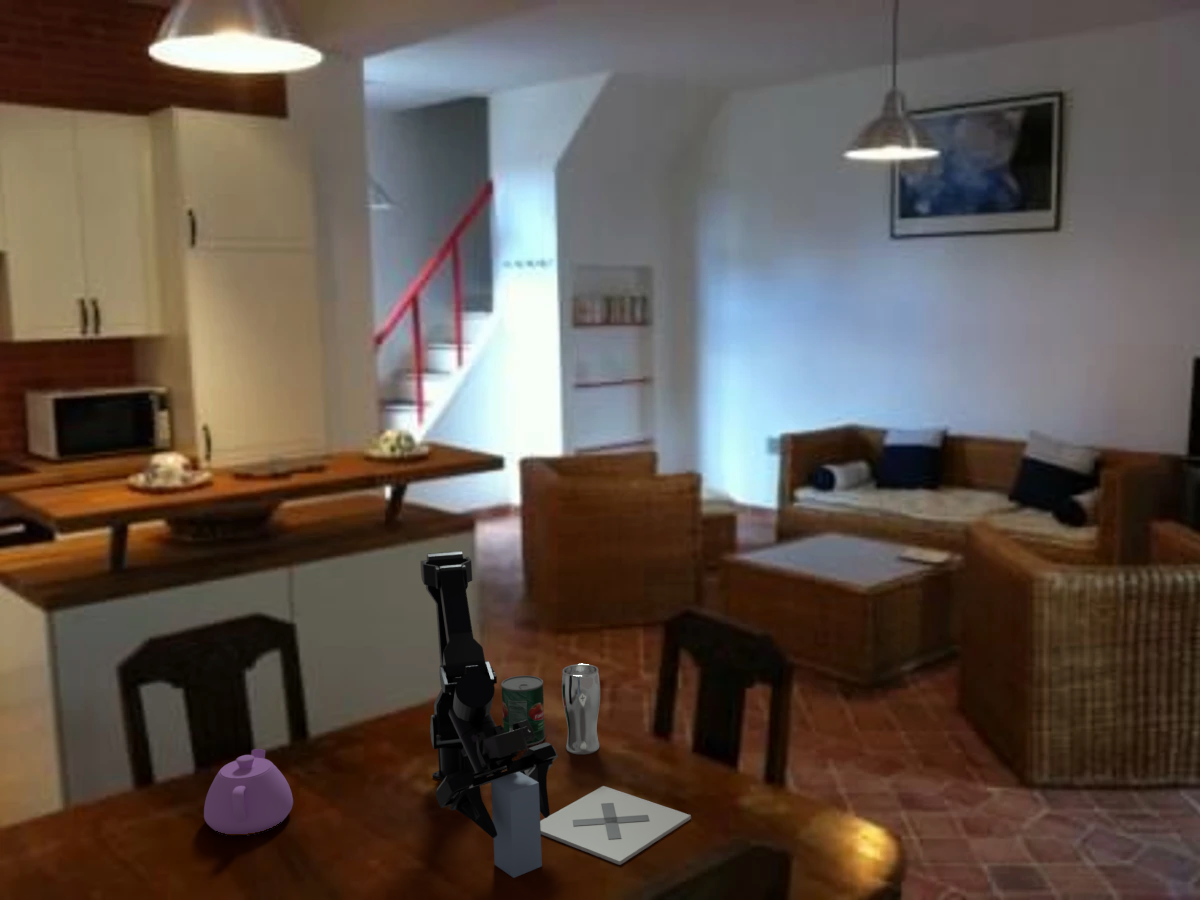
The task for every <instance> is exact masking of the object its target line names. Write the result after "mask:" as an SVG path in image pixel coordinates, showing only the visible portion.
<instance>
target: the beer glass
mask: <svg viewBox="0 0 1200 900" xmlns="http://www.w3.org/2000/svg"><path fill="white" fill-rule="evenodd" d="M561 677H562V679H561V681H562V682H561V695H562V705H563V710H564V715H565V719H566V724H567V738H566V739H567V740H566V746H565V748H566V750H567V752H568V753H570V754H573V755H574V754H575V755H589V754H590V755H591V754H594V753H596V752H597V751H598V750H599V749H600V742H599V738H598V731H597V730H598V729H597V727H598V726H597V725H598V719H599V718H598V717H599V712H600V711H599V710H600V704H601V703H600V702H601V683H600V675H599V668H598V666H596V665H592V664H588V663H587V664H586V663H578V664H577V663H576V664H571V665H567V666H565V667H564V668H563V669H562V676H561Z"/></svg>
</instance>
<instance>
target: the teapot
mask: <svg viewBox="0 0 1200 900" xmlns="http://www.w3.org/2000/svg"><path fill="white" fill-rule="evenodd" d="M293 805H294V798H293V794H292V789H291V788H290V784H289V783H288V781H287V779H286V777H285V776H284V775H283V773H282V772H281V771H280V770H279V768H278V767H277V766H276V765H275V764H274V763H273V762H272V761H271V760H270V759H267V758H266V750H265V749H260V748H255V749H251V753H250V754H244V755H241V756H238V757H237V758H235V760H233V761H231V762H229V763H227V764H225V765H224V766H223V767H221V768H220V770H219V771H218V772H217V773H216V775H215V777H214V779H213V781H212V783H211V785H210V786H209V789H208V792H207V793H206V797H205V801H204V808H203V818H204V821H205V822H206V824H207V825H208V826H209V827H210V828H211V829H212V830H214V831H215V832H216V831H218V832H221V833H225V834H248V833H255V832H260V831H264V830H266V829H269V828H272V827H273V826H276V825H277V824H279V823H280V822H281V823H282V822H283V821H284V820H285V819H287V817H288V815H289V814H290V812H291V811H292V808H293ZM281 823H280V824H281ZM280 824H279V825H280ZM277 826H278V825H277ZM277 826H276V827H277ZM272 829H273V828H272ZM218 832H217V833H218Z"/></svg>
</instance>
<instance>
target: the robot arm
mask: <svg viewBox="0 0 1200 900" xmlns="http://www.w3.org/2000/svg"><path fill="white" fill-rule="evenodd" d="M420 577H421V581H422V583H423V585H425V590H426V592H427V593H428V594H429V596H430V597H431V599H432V600H433V601H434V603H435V609H436V624H437V625H436V626H437V636H438V637H437V638H438V653H439V664H440V665H439V682H440V687H441V689H440V691H439V693H438V695H437V697H436V698H435V701H434V703H433V708H434V711H433V712H434V714H431V715H430V724H429V725H430V727H429V729H430V730H429V732H430V740H431V741H430V742H431V744H432V748H433V750H437V757H438V758H437V759H438V771H435V772H433V773H432V774H431V776H432V777H433V778H435V779H436V780H437V779H438V780H439V781H442V782H441V783H440V784H439V786H438V787H437V788H436V791H435V794H436V795H435V798H436V800H437V802H438V805H439V808H440V809H444V808H447V807H449V809H450V811H458V812H459V813H461V814H462V815H463V816H465V817H466V818H468V819H469V820H471V821H472V822H473V823H474V824H476V825H477V826H478V827H479V828H480V829H482V831H483V832H485V833H486V834H487V835H489V836H490V837H491V838H492V839H494V838H495V837H496V836H497V831H496V829H495V826H494V823H493V818H492V817H491V815H490V813H489V811H488V809H487V807H486V805H485V803H484V802H483V798H482V792H481V787H482V786H485V785H488V784H491V781H493V780H496V779H499V778H502V777H505V776H508V775H511V774H514V773H516V772H521V773H523V774H525V775H526V776H528V777H530V778H532V779H534V780H535V781H537V782H539V802H540V814H541V815H542V816H543V818H544V819H545V818H547V817H548V816H550V815H551V814H550V805H549V798H548V797H549V796H548V786H547V785H548V784H547V781H548V780H547V779H548V778H547V776H548V771H549V770H550V769H551V767H552V766H553V765H554V764H553V763H554V762H555V760H556V759H557V758H558V757H559V755H558V752H557V751H556V749H555V747H554V745H552V744H551V743H549V742H543V743H538V745H537V744H535V745H532V746H531V747H529V746H527V743H526V742H529V741H532V740H534V737H535V736H534V732H533V729H532V727H531V725H530V723H529V722H528V720H524V721H520V722H517V723H514V724H513V731H510V732H505V730H504V728H503V725H502V724H500V725H496V723H495V720H494V719H493V716H492V714H491V709H492V705H493V701H494V696H495V693H496V692H495V688H496V687H495V684H497V683H498V678H497V674H496V672H495V670H494V667H493V666H491V664H490V661H489V660H486V658H485V653H484V648H483V646H482V645H481V644H480V643H479V642H478V641H477V640H476V639H475V638H474V633H473V629H472V628H473V627H472V621H471V613H470V607H469V606H470V605H469V602H468V596H467V595H468V593H467V589H468V587H469V583H470V582H472V581H473V567H472V559H471V558H470V556H463V551H462V550H456V551H454V550H453V551H444V552H443V551H442V552H441V551H440V552H434V553H433V552H432V553H427V554H426V559H424V560H420ZM525 750H526V751H525ZM519 751H521V752H524V751H525V752H524V753H523V754H522V755H521V757H520V758H518V759H515V760H513V758H516V757H517V756H518V755H519Z"/></svg>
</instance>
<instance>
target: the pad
mask: <svg viewBox="0 0 1200 900" xmlns="http://www.w3.org/2000/svg"><path fill="white" fill-rule="evenodd" d="M691 819H692V816H691V814H689V813H688V814H687V813H685V812H683V811H680V810H677V809H673V808H671V807H667V806H664V805H661V804H659V803H655V802H652V801H649V800H648V799H647V800H646V799H643V798H642V797H641V798H640V797H638V796H635V795H633V794H629V793H626V792H623V791H619V790H617V789H614V788H611V787H609V786H605V785H602V786H600V787H598V788H597V789H595V790H594V791H592V792H590V793H588V794H586V795H584V796H583V797H580V798H579V799H577V800H575V801H574V802H572V803H570V804H568V805H566V806H565V807H563V808H561V809H558V811H555V812H554V813H552V814H550V815H549V816H548V817H547V818H545V817H544V818H543V819H540V829H541V836H544V837H547V838H549V839H553V840H555V841H557V842H560V843H563V844H565V845H567V846H570V847H571V848H572V847H573V848H575V849H578V850H579V851H580V850H581V851H583V852H586V853H589V854H591V855H593V856H595V857H598V858H601V859H603V860H606V861H608V862H611V863H612V864H615V865H619V866H621V865H622V864H624V863H626V862H627V861H629V860H630V859H632V858H634V857H635V856H636V855H638V854H640V853H641V852H643V851H644V850H645V849H647V848H649V847H650V846H652V845H653V844H654V843H656V842H657V841H660V840H661V839H662V838H664V837H665V836H667V835H668V834H670V833H672V832H673V831H675V830H676V829H678V828H679V827H681V826H682V825H684V824H685V823H687V822H689V821H690V820H691Z"/></svg>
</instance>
